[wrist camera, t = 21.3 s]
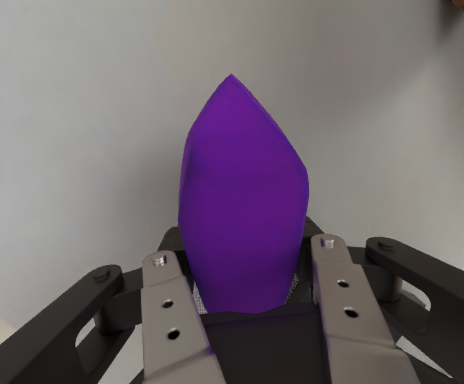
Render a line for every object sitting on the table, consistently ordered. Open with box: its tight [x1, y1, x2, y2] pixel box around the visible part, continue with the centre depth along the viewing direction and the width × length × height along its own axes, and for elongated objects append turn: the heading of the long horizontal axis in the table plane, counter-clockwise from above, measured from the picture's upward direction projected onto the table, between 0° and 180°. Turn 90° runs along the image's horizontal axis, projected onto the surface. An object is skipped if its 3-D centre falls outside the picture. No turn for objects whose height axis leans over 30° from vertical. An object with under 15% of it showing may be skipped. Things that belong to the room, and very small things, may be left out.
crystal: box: [178, 74, 309, 314], centre depth 11 cm, size 5×5×15 cm
